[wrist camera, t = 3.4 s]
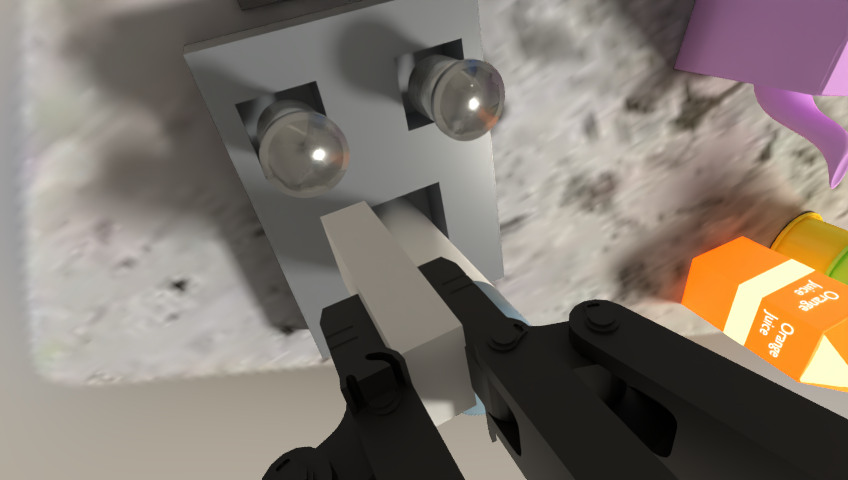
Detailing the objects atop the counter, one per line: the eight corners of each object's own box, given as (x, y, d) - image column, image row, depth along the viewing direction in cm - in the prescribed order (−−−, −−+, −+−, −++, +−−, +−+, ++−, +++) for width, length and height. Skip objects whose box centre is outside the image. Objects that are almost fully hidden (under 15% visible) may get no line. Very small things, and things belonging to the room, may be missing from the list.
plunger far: (396, 59, 25) (428, 72, 22) (461, 40, 26) (501, 50, 23) (410, 129, 28) (441, 151, 24) (469, 109, 29) (507, 127, 25)
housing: (184, 45, 24) (182, 54, 21) (447, -22, 28) (475, -21, 25) (313, 329, 36) (322, 358, 34) (483, 255, 40) (504, 276, 38)
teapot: (646, 148, 43) (804, 207, 32) (761, -205, 31) (1078, -306, 20) (746, 141, 49) (908, 190, 38) (874, -157, 37) (1166, -214, 26)
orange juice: (692, 257, 55) (891, 370, 39) (743, 235, 58) (950, 332, 42) (680, 305, 60) (855, 423, 44) (728, 281, 62) (910, 386, 46)
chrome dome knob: (237, 106, 23) (245, 129, 20) (315, 83, 24) (335, 101, 21) (267, 178, 26) (279, 209, 22) (337, 154, 27) (358, 181, 23)
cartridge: (343, 208, 32) (440, 360, 19) (411, 183, 33) (544, 310, 21) (362, 267, 35) (457, 431, 22) (424, 241, 36) (547, 383, 24)
